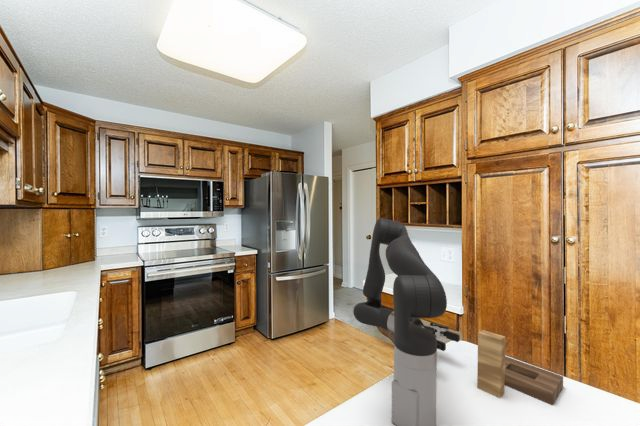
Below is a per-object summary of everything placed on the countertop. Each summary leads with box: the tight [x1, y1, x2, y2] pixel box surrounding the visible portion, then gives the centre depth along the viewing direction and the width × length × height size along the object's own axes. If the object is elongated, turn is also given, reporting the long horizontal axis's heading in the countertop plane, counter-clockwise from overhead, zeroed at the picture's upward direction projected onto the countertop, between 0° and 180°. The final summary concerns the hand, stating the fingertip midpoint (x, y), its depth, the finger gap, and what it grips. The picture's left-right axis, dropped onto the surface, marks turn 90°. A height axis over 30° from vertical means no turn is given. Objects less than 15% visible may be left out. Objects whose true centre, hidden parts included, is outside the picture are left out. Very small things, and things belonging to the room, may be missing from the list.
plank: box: [476, 329, 506, 399], centre depth 77 cm, size 3×6×15 cm, turn 40°
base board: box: [504, 355, 564, 406], centre depth 81 cm, size 11×16×3 cm
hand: (452, 342), depth 85 cm, fingers open, 8 cm apart
